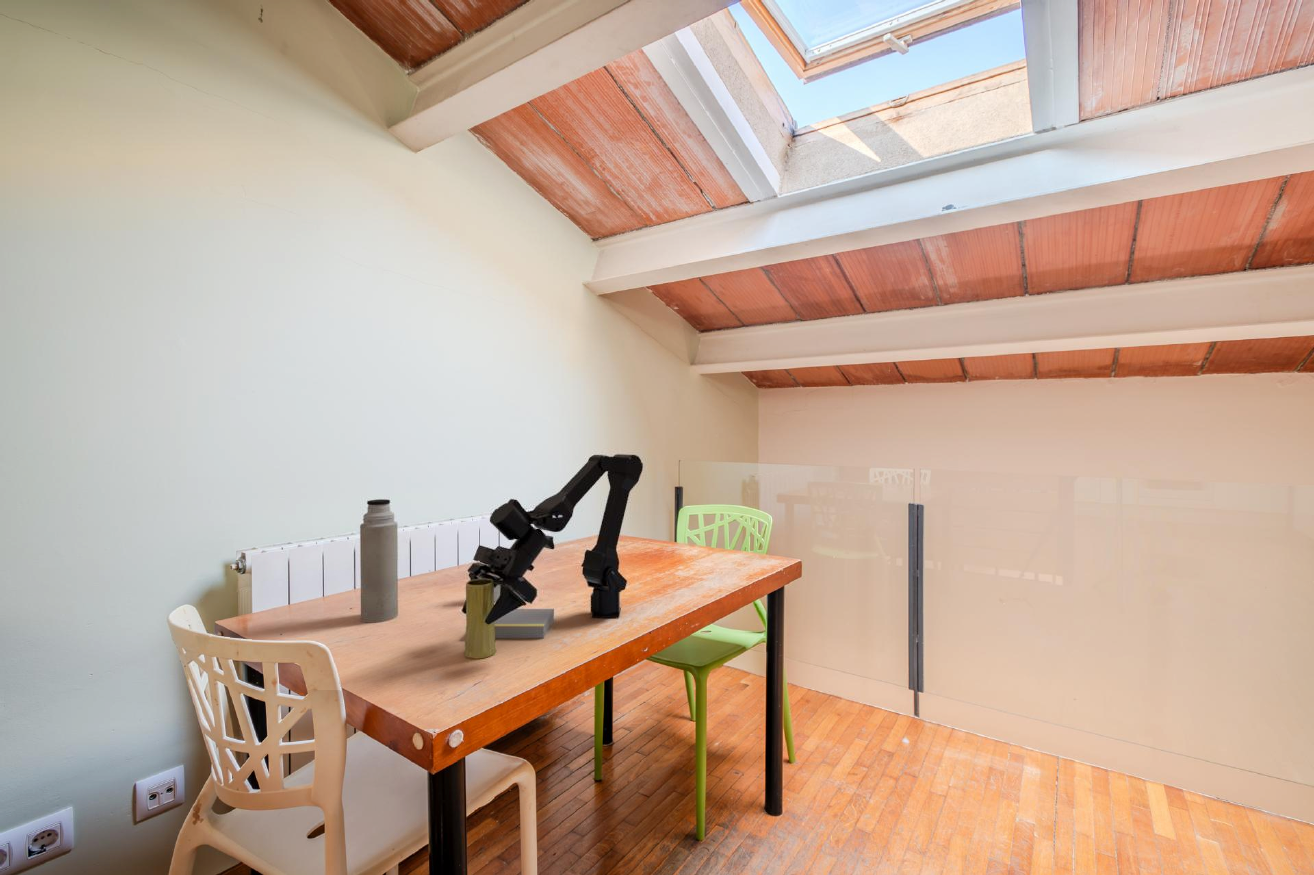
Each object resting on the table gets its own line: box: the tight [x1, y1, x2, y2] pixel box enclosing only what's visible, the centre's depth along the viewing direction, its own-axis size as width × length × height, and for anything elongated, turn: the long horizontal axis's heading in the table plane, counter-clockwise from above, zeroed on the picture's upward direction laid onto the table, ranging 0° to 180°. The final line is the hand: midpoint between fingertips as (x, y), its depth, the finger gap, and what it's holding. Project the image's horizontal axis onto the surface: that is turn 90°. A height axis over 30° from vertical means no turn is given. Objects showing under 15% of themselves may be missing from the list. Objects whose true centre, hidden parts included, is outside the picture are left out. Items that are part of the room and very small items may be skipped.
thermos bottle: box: [359, 498, 399, 623], centre depth 134 cm, size 8×8×28 cm
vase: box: [463, 579, 497, 660], centre depth 112 cm, size 6×6×14 cm
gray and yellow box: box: [495, 608, 555, 639], centre depth 126 cm, size 16×12×3 cm
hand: (474, 617), depth 111 cm, fingers open, 9 cm apart
